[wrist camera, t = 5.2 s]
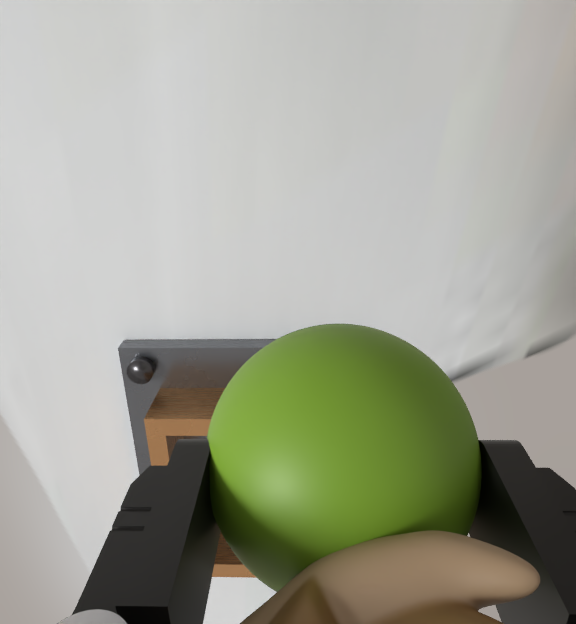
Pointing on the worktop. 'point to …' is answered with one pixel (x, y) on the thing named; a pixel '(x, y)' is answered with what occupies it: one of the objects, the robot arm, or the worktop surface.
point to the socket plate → (180, 402)
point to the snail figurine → (355, 485)
